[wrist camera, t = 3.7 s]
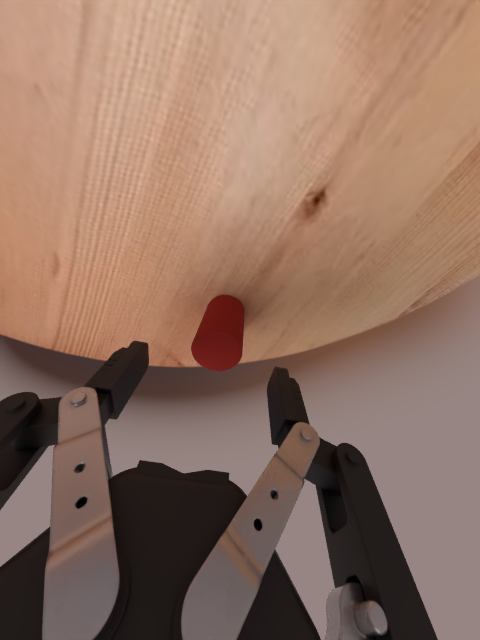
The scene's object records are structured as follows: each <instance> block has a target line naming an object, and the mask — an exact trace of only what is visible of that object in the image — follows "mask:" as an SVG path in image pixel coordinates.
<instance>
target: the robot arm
mask: <svg viewBox="0 0 480 640" xmlns="http://www.w3.org/2000/svg"><path fill="white" fill-rule="evenodd" d="M148 364H149V354H148V343H145V342H139V341H133V342H132V343H131V344H130V346H129V347H128V348H121V349H119V350H118V351H116V352H114V353H113V354H112V355H111V357H110V358H109V359H108V360H107V361H106V362H105V363H104V365H103V366H102V367H101V368H100V369H99V370H98V371H97V372H96V374H95V375H94V376H93V377H92V378H91V379H90V380H89V381H88V383H86V385H85V386H84V387H81V388H77V389H75V390H72V391H70V392H68V393H67V394H66V395H64V396H63V397H58V398H49V399H39V398H38V396H37V395H36V394H35V393H32V392H22V393H17V394H14V395H11V396H9V397H7V398H5V399H3V400H2V401H0V510H1V508H2V507H3V506H4V504H5V503H6V502H7V500H8V499H9V498H10V496H11V495H12V494H13V493H14V491H15V490H16V488H17V487H18V486H19V485H20V483H21V482H22V481H23V479H24V478H25V476H26V475H27V474H28V472H29V471H30V470H31V469H32V467H33V466H34V465H35V463H36V462H37V461H38V459H39V458H40V457H41V455H42V454H43V453H44V451H45V450H46V448H47V447H48V446H51V445H55V446H54V450H53V469H52V496H51V520H50V527H49V528H48V529H47V530H45V531H44V532H43V533H42V534H40V535H39V536H38V537H37V538H36V539H34V540H33V541H32V542H31V543H29V544H28V545H27V546H26V547H24V548H23V549H22V550H21V551H19V552H18V553H17V554H16V555H14V556H13V557H12V558H11V559H10V560H8V561H7V562H6V563H5V564H3V565H2V566H1V567H0V640H321V639H320V636H319V634H318V632H317V629H316V627H315V626H314V623H313V622H312V619H311V617H310V616H309V614H308V612H307V610H306V608H305V606H304V604H303V602H302V600H301V598H300V596H299V594H298V593H297V590H296V589H295V587H294V585H293V583H292V581H291V579H290V577H289V575H288V573H287V571H286V569H285V567H284V565H283V563H282V562H281V560H280V558H279V556H278V554H277V552H276V550H275V548H276V546H277V543H278V541H279V539H280V537H281V534H282V532H283V530H284V528H285V525H286V523H287V521H288V518H289V516H290V514H291V512H292V510H293V507H294V505H295V503H296V501H297V499H298V496H299V494H300V492H301V490H302V487H303V485H304V479H306V480H308V481H310V482H311V483H313V484H315V485H316V489H317V495H318V500H319V505H320V511H321V516H322V521H323V527H324V531H325V537H326V542H327V548H328V553H329V559H330V564H331V569H332V574H333V580H334V585H335V589H333V590H332V591H331V592H330V593H329V596H328V599H327V604H326V613H327V631H326V636H325V640H438V639H437V637H436V634H435V632H434V629H433V627H432V624H431V622H430V619H429V617H428V614H427V612H426V609H425V607H424V604H423V602H422V599H421V597H420V594H419V592H418V590H417V587H416V584H415V582H414V580H413V577H412V574H411V572H410V569H409V567H408V564H407V562H406V559H405V557H404V554H403V552H402V550H401V547H400V544H399V542H398V539H397V537H396V535H395V532H394V530H393V527H392V525H391V522H390V520H389V518H388V515H387V512H386V510H385V507H384V505H383V502H382V500H381V497H380V495H379V492H378V490H377V487H376V485H375V482H374V480H373V477H372V475H371V473H370V470H369V467H368V465H367V463H366V460H365V458H364V457H363V455H362V454H361V452H360V451H359V450H358V449H357V448H355V447H354V446H352V445H350V444H348V443H341V444H339V445H338V446H335V445H333V444H331V443H329V442H327V441H324V440H323V439H321V438H320V437H319V436H318V434H317V432H316V431H315V430H314V428H313V427H311V426H310V424H309V421H308V417H307V413H306V410H305V406H304V402H303V400H302V399H303V398H302V395H301V391H300V387H299V385H298V383H297V382H296V380H295V379H294V378H289V374H288V370H287V369H286V368H280V367H275V368H274V370H273V372H272V375H271V377H270V380H269V382H268V387H267V397H268V408H269V418H270V429H271V439H272V444H273V445H278V448H279V449H278V451H277V452H276V454H275V455H274V456H273V458H272V459H271V461H270V462H269V464H268V465H267V467H266V468H265V470H264V472H263V473H262V475H261V476H260V478H259V479H258V481H257V482H256V484H255V485H254V487H253V489H252V490H251V492H250V493H249V495H248V496H247V495H246V494H245V493H244V492H243V490H242V489H241V488H240V487H238V486H237V485H236V484H234V483H233V482H232V481H230V480H229V473H226V472H219V471H212V470H204V471H197V472H191V473H185V474H184V473H181V472H178V471H177V470H175V469H173V468H171V467H168V466H167V465H164V464H162V463H156V462H149V461H141V460H140V461H139V464H138V466H137V467H136V468H132V469H128V470H125V471H123V472H120V473H119V474H117V475H115V476H113V474H112V469H111V464H110V459H109V452H108V445H107V438H106V432H105V424H106V422H107V421H108V419H117V418H118V417H119V415H120V413H121V412H122V410H123V408H124V407H125V405H126V403H127V402H128V400H129V398H130V397H131V395H132V393H133V392H134V390H135V388H136V387H137V385H138V384H139V382H140V380H141V379H142V377H143V375H144V374H145V372H146V370H147V367H148Z"/></svg>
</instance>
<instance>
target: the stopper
mask: <svg viewBox="0 0 480 640" xmlns="http://www.w3.org/2000/svg"><path fill="white" fill-rule="evenodd" d="M243 331H244V307H243V305H242V304H241V302H240V301H239V300H237V299H236V298H234V297H232V296H228V295H221V296H218V297H215V298H214V299H212V300H211V301H210V303H209V305H208V307H207V309H206V312H205V314H204V316H203V319H202V321H201V324H200V326H199V328H198V331H197V333H196V335H195V338H194V340H193V343H192V347H191V350H192V355H193V357H194V359H195V360H196V361H197V362H198V363H199V364H200V365H202V366H203V367H205V368H208V369H210V370H215V371H223V370H227V369H230V368H232V367H234V366H235V365H237V364H238V362H239V361H240V359H241V357H242V347H243Z"/></svg>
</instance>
